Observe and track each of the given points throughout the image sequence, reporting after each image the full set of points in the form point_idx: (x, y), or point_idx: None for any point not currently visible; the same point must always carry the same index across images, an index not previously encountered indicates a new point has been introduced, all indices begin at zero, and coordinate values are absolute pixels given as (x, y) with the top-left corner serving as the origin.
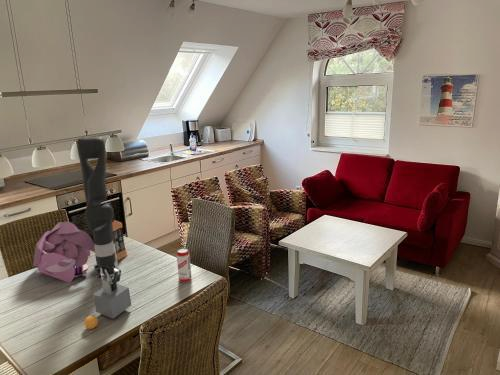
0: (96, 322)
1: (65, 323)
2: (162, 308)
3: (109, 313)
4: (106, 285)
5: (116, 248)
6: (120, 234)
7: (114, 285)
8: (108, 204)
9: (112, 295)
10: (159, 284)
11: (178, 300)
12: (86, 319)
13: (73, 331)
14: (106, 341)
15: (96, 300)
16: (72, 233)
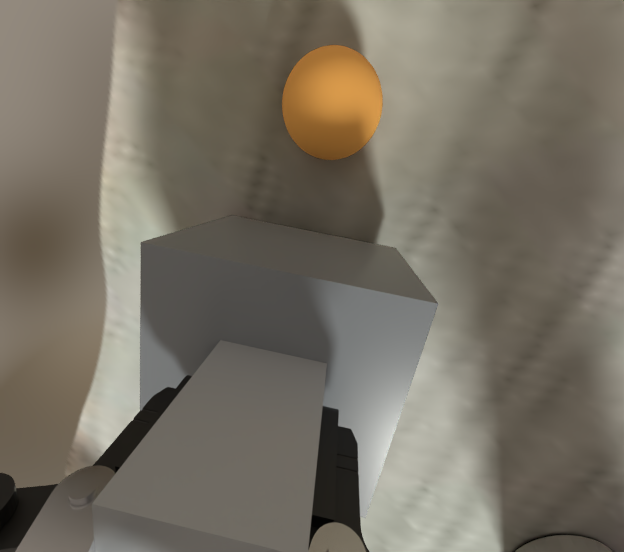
0: (283, 113)
1: (573, 88)
2: (94, 376)
3: (249, 225)
4: (213, 431)
5: None
6: None
7: (116, 451)
8: None
9: (184, 329)
10: None
11: (78, 438)
12: (350, 64)
13: (441, 21)
14: (133, 14)
15: (378, 270)
16: None
